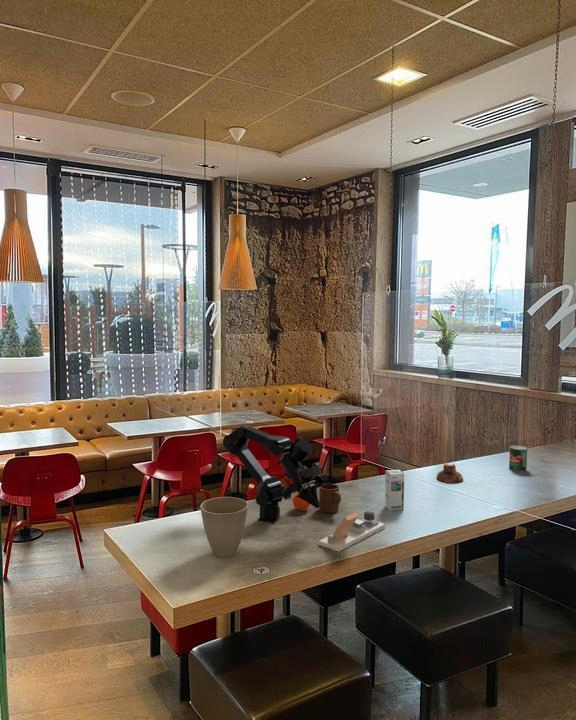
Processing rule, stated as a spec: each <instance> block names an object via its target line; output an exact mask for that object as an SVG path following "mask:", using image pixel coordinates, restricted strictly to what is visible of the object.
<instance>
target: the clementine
mask: <svg viewBox="0 0 576 720" xmlns="http://www.w3.org/2000/svg"><path fill="white" fill-rule="evenodd" d="M298 495H299V494H298V492H296V493H295V494H294V496H293V498H292V505H293V506H294V508H295V509H297V510H298V511H306V510H307V509H309V508H310V505H311V504H309V503H308V502H306V501H304V500H303V499H301V498H297V496H298Z"/></svg>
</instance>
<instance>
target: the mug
mask: <svg viewBox="0 0 576 720" xmlns="http://www.w3.org/2000/svg"><path fill="white" fill-rule="evenodd" d="M318 489H319V491H318V500H319V504H320V507H319V511H320V512H321V511H322V512H321V513H324V512H327V513H326V514H334V513H333V512H335V513H337V512H338V511H339V509H340V504H341V502H342V496H341V493H340V486H339V485H337V484H335V483H323V484H322V485H321V486H320V487H319V488H318Z"/></svg>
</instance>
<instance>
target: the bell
mask: <svg viewBox="0 0 576 720" xmlns="http://www.w3.org/2000/svg"><path fill="white" fill-rule="evenodd" d="M435 478H436V480H438V481H439V482H441V483H445V484H459V483H462V482H463V481H464V477H463V475H462V474H461V473H460V472H459V471H457V470H456V464H455V463H453V464H448V463H444V464H443V469H441V470H440V471H439V472H438V473H437V474H436V477H435Z"/></svg>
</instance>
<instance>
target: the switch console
mask: <svg viewBox="0 0 576 720" xmlns="http://www.w3.org/2000/svg"><path fill="white" fill-rule="evenodd" d="M361 521H363V522H364V525H362V526H360V527H357V526H355V525H354V526H353V525H352V526H351V528H350V529H349V531H348V532H347V534H346V535H345V536H343V537H341V538H339V539H337V540H335V541H334V536H332V535H333V534H334V533H332V534H328V535H327V536H326V537H324V538H322V539H319V541H318V545H319V546H320V545H322V546H321V547H323V546H324V548H326V547H327V548H326V549H328V548H330V549H329V550H331V549H333V550H332V551H334V550H335V551H334V552H336V551H338V552H337V553H339V551H340V552H341V550H342V551H343V549H344V550H346V549H348V548H349V547H351V546H353V545H355V544H357V543H359V542H361V541H363V540H365V539H367V538H368V537H367V536H369V537H371V536H372V534H373V533H375V532H376V533H378V532H380V531H382V530H384V529H385V528H386V524H385V523H383V522H379V521H377V520H375V519H374V520H372V521H368V520H365V519H364V518H363V519H362V520H361ZM376 533H375V534H376ZM370 535H371V536H370ZM373 535H374V534H373ZM366 537H367V538H366ZM364 538H365V539H364ZM362 539H363V540H362ZM360 540H361V541H360ZM358 541H359V542H358ZM356 542H357V543H356ZM354 543H355V544H354ZM352 544H353V545H352ZM350 545H351V546H350ZM347 547H348V548H347ZM345 548H346V549H345Z"/></svg>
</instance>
